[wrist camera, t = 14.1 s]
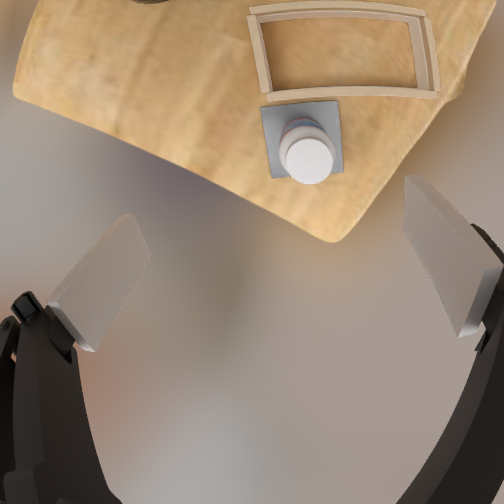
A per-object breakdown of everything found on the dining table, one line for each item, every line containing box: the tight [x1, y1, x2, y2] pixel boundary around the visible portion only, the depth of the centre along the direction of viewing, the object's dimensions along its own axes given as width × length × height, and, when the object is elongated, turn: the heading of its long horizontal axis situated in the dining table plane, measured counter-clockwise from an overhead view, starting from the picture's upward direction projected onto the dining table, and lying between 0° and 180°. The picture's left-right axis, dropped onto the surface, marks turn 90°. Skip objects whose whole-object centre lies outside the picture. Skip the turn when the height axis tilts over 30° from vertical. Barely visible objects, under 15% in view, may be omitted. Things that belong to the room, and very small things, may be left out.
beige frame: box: [246, 1, 441, 102], centre depth 25 cm, size 12×22×5 cm, turn 100°
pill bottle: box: [279, 118, 336, 184], centre depth 30 cm, size 6×6×11 cm
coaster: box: [260, 101, 343, 178], centre depth 35 cm, size 10×10×1 cm
